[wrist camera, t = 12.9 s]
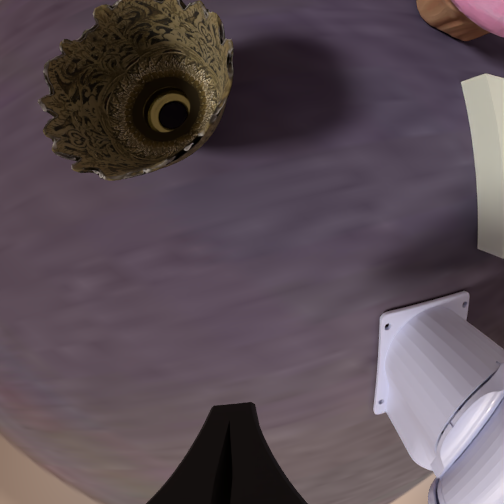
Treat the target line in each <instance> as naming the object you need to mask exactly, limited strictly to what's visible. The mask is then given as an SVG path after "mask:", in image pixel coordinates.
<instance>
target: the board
mask: <svg viewBox="0 0 504 504" xmlns="http://www.w3.org/2000/svg"><path fill="white" fill-rule="evenodd" d="M461 85H462V89H463V94H464V98H465V103H466V108H467V113H468V118H469V124H470V130H471V136H472V144H473V151H474V160H475V170H476V183H477V203H478V246H477V249H479V250H482V251H484V252H487V253H490V254H492V255H495V256H497V257H500V258H502V259H504V78H500V77H497V76H493V75H490V74H483V75H480V76H477V77H474V78H471V79H468V80H465V81H462V82H461Z"/></svg>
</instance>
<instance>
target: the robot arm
mask: <svg viewBox="0 0 504 504" xmlns="http://www.w3.org/2000/svg"><path fill="white" fill-rule="evenodd" d="M469 298H470V295H469V293H468V292H466V291H462V292H459V293H455V294H452V295H448V296H445V297H441V298H438V299H434V300H431V301H427V302H423V303H419V304H416V305H412V306H408V307H404V308H400V309H396V310H392V311H387V312H385V313H383V314H382V315H381V317H380V328H379V350H378V365H377V378H376V389H375V398H374V407H373V411H374V413H375V414H381V413H385V412H386V413H387V414H388V416H389V418H390V420H391V422H392V423H393V425H394V427H395V429H396V431H397V433H398V434H399V436H400V438H401V440H402V442H403V444H404V445H405V447H406V449H407V451H408V453H409V455H410V456H411V458H412V459H413V460H414V461H415V462H416V463H417V464H418V465H420V466H422V467H423V468H426V469H428V470H432V471H433V472H434V474H435V475H436V478H435V479H434V481H433V483H432V484H431V487H430V489H429V494H428V504H504V349H503V348H502V347H500V346H499V345H498V344H496V343H495V342H494V341H493V340H491V339H490V338H489V337H487V336H486V335H485V334H483V333H482V332H481V331H479V330H478V329H477V328H475V327H474V326H473V325H471V324H470V323H469V322H467V321H466V320H467V313H468V306H469ZM463 303H464V304H463ZM388 323H389V326H388V327H386V328H385V325H386V324H388ZM380 400H381V401H380ZM146 504H307V502H306V501H305V500H304V499H303V498H302V496H301V495H300V494H299V493H298V492H297V490H296V489H295V488H294V486H293V485H292V484H291V482H290V481H289V480H288V478H287V477H286V475H285V474H284V472H283V471H282V469H281V468H280V466H279V464H278V463H277V461H276V459H275V458H274V456H273V454H272V452H271V450H270V448H269V446H268V444H267V442H266V440H265V438H264V436H263V434H262V431H261V429H260V426H259V421H258V417H257V412H256V407H255V404H253V403H252V402H248V403H239V404H229V405H217V406H213V407H212V408H211V410H210V412H209V415H208V417H207V419H206V421H205V423H204V425H203V427H202V429H201V430H200V432H199V434H198V436H197V438H196V439H195V441H194V443H193V444H192V446H191V448H190V449H189V451H188V453H187V454H186V456H185V457H184V459H183V460H182V462H181V463H180V464H179V466H178V467H177V469H176V470H175V471H174V473H173V474H172V475H171V477H170V478H169V479H168V480H167V482H166V483H165V484H164V485H163V486H162V487H161V489H160V490H159V491H158V492H157V493H156V494H155V495H154V496H153V497H152V498H151V499H150V500H149V501H148V502H147V503H146Z"/></svg>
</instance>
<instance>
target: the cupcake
mask: <svg viewBox="0 0 504 504" xmlns="http://www.w3.org/2000/svg"><path fill="white" fill-rule="evenodd" d="M416 2H417V8H418V10H419V13H420V15H421V17H422V18H423V19H424V20H425V21H426V22H427V23H428V24H429V25H431V26H433V27H436V28H437V29H439V30H441V31H443V32H445V33H447V34H449V35H451V36H452V37H455V38H457V39H460V40H462V41H470V40H473V39H475V38H478V37H481V36H483V35H485V34H488V33H493V34H495V35H497V36H500V37H503V38H504V0H416Z"/></svg>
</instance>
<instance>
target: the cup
mask: <svg viewBox="0 0 504 504" xmlns="http://www.w3.org/2000/svg"><path fill="white" fill-rule="evenodd" d="M93 16H94V19H95V22H96V23H95V24H96V25H94V26H93V27H92V28H91V29H87V30H85V31H84V32H83V34H82V36H81V37H80V38H79V40H73V41H71V40H68V39H64V40H63V41H61V43H60V50H61V53H62V54H61V55H59V56H57V57H55V58H53V59H51V60H49V61H47V62H46V64H45V65H44V72H43V73H44V77H45V81H46V83H47V85H48V86H49V93H50V94H49V95H46V96H44V97H42V98H41V99H39V100H38V103H39V104H40V106H41V107H42V109H43V110H44V111H45V112H48V113H49V114H51V115H52V116H54V118H52V119H50V120H49V121H48V123H47V124H46V125H45V127H44V129H43V132H44V134H45V135H46V136H47V137H49V138H51V139H52V141H53V142H54V143H53V147H52V151H53V152H54V153H55V154H56V155H58V156H60V157H62V158H65V159H69V160H74V161H77V162H76V163H74V164H72V170H74V171H76V172H79V173H88V172H90V173H96V174H98V175H99V177H100V178H102V179H105V180H112V181H113V180H122V179H126V178H131V177H134V176H138V175H143V174H147V173H150V172H153V171H156V170H158V169H161V168H164V167H167V166H170V165H172V164H175V163H177V162H179V161H181V160H183V159H185V158H187V157H188V156H190V155H191V154H193V153H194V152H195V151H197V150H198V149H199V148H200V147H201V146H202V145H203V144H204V143H205V142H206V141H207V140H208V139H209V138H210V136H211V135H212V134H213V132H214V131H215V129H216V127H217V126H218V124H219V122H220V120H221V117H222V115H223V112H224V109H225V106H226V102H227V98H228V95H229V93H230V90H231V86H232V80H233V65H232V57H233V50H234V48H233V42H232V39H225V32H224V27H223V24H222V21H221V19H220V18H219V16H218V15H217V14H216V13H214V12H211V13H210V12H209V10H208V9H206V8H205V6H204V4H203V3H202V2H201V1H195V2H193V3H189V4H188V5H187V6H186V5H185V4H184V3H183V1H182V0H119V1H117V2H116V3H115V4H113V5H112V6H110V5H107V4H105V5H102V6H99V7H97V8H95V10H94V12H93ZM170 102H179V103H181V104H182V105H184V107H185V108H186V111H187V117H186V120H185V121H184V123H183V124H182V125H181V126H179V127H177V128H173V129H170V128H166V127H165V126H163V125H162V124H161V122H160V119H159V114H160V111H161V109H162V108H163V107H164V106H165V105H166V104H168V103H170Z"/></svg>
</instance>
